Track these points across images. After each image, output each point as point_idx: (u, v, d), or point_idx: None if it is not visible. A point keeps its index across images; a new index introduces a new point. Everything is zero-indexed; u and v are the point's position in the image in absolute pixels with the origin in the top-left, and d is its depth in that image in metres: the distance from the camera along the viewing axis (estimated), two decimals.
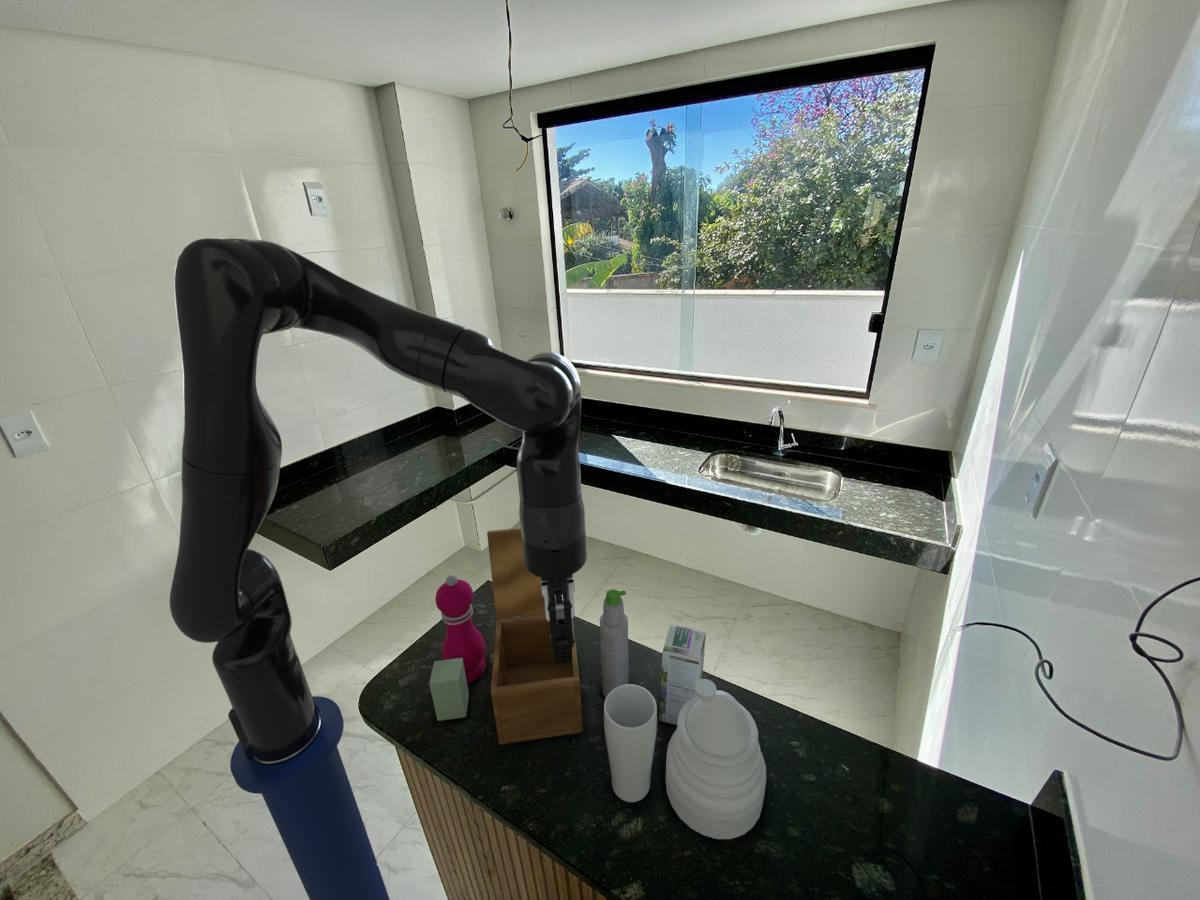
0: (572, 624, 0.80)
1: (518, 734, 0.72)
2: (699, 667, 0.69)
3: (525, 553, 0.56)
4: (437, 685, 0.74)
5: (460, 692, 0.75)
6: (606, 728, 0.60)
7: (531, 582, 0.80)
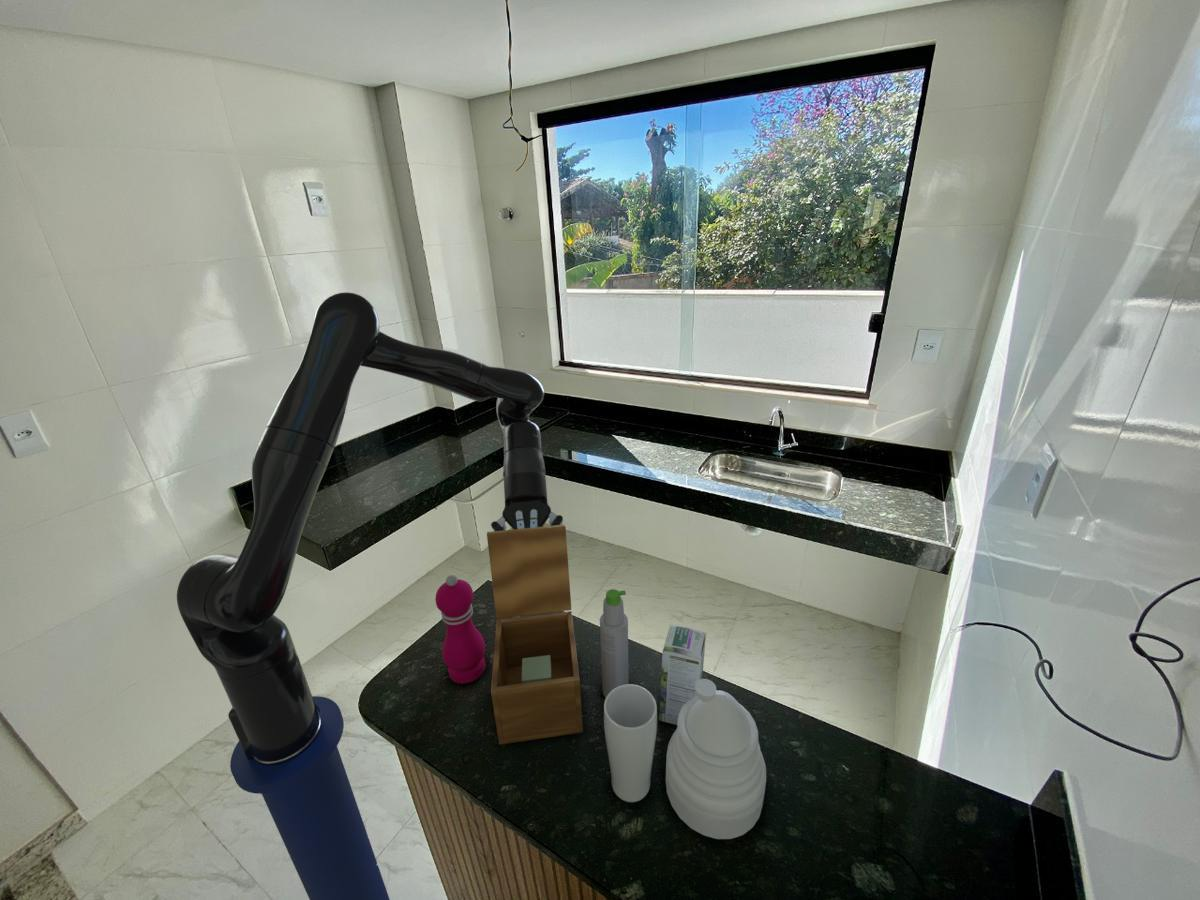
0: (572, 624, 0.80)
1: (518, 734, 0.72)
2: (699, 667, 0.69)
3: None
4: None
5: None
6: (606, 728, 0.60)
7: (531, 583, 0.80)
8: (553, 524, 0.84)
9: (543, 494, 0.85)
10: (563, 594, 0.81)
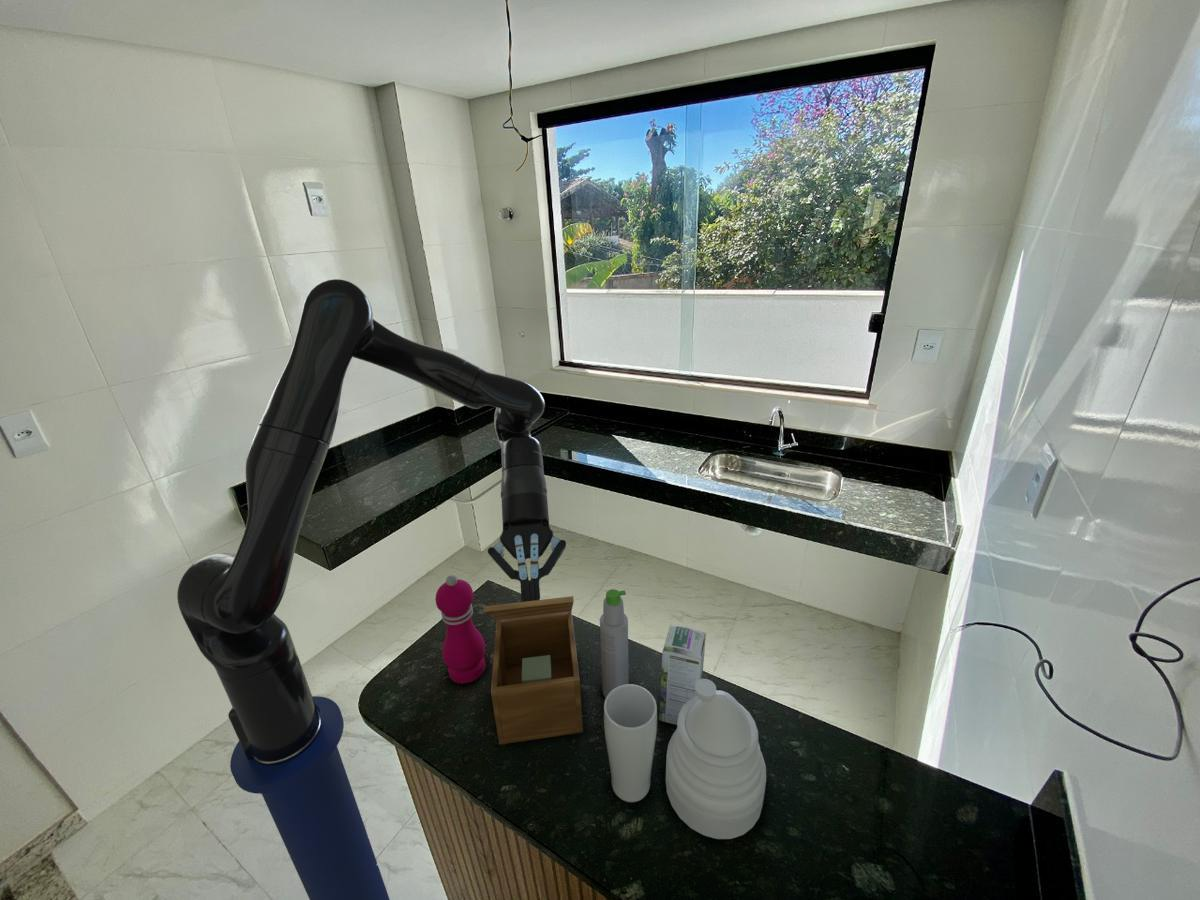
0: (572, 624, 0.80)
1: (518, 734, 0.72)
2: (699, 667, 0.69)
3: None
4: None
5: None
6: (606, 728, 0.60)
7: (532, 612, 0.76)
8: (555, 550, 0.77)
9: (544, 517, 0.78)
10: (564, 610, 0.80)
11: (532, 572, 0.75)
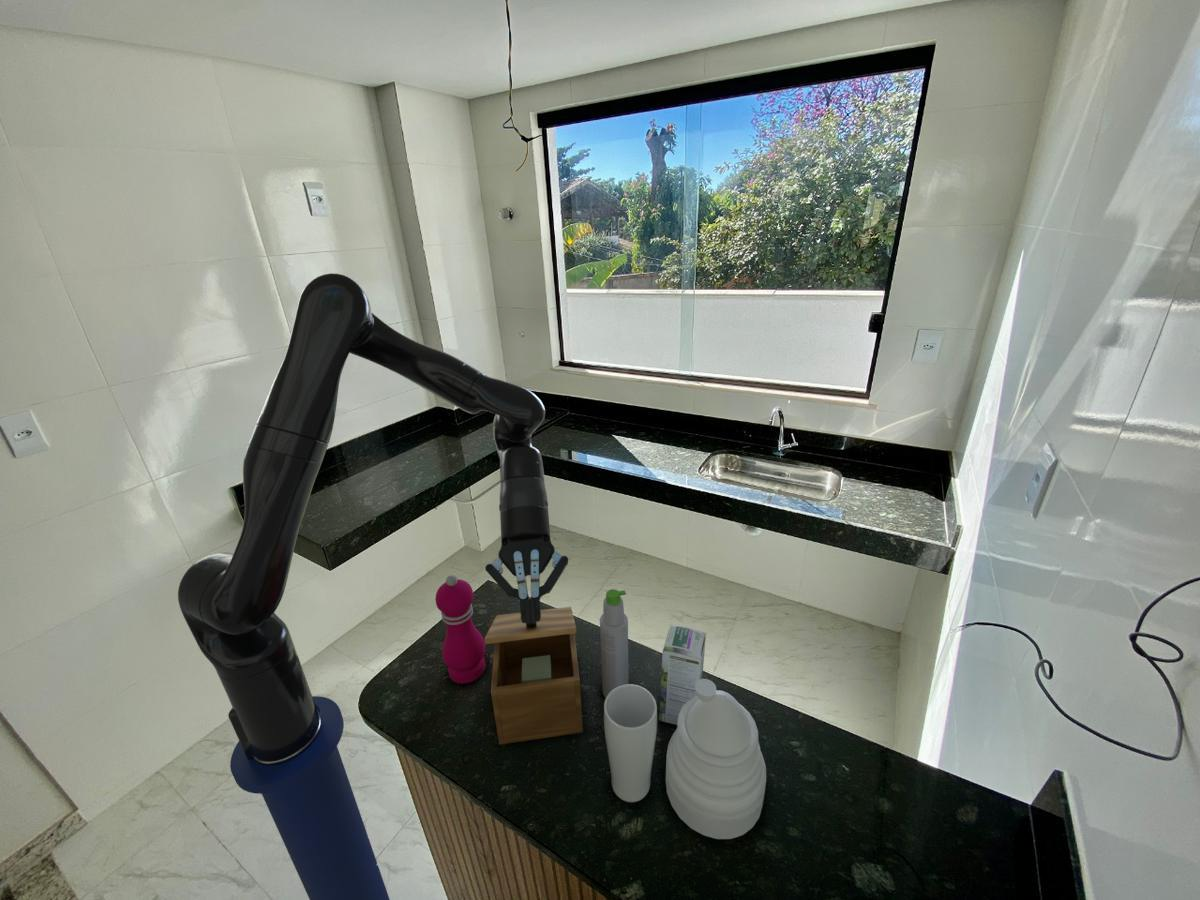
0: None
1: (518, 734, 0.72)
2: (699, 667, 0.69)
3: None
4: None
5: None
6: (606, 728, 0.60)
7: None
8: (557, 567, 0.72)
9: (545, 531, 0.74)
10: None
11: (532, 590, 0.71)
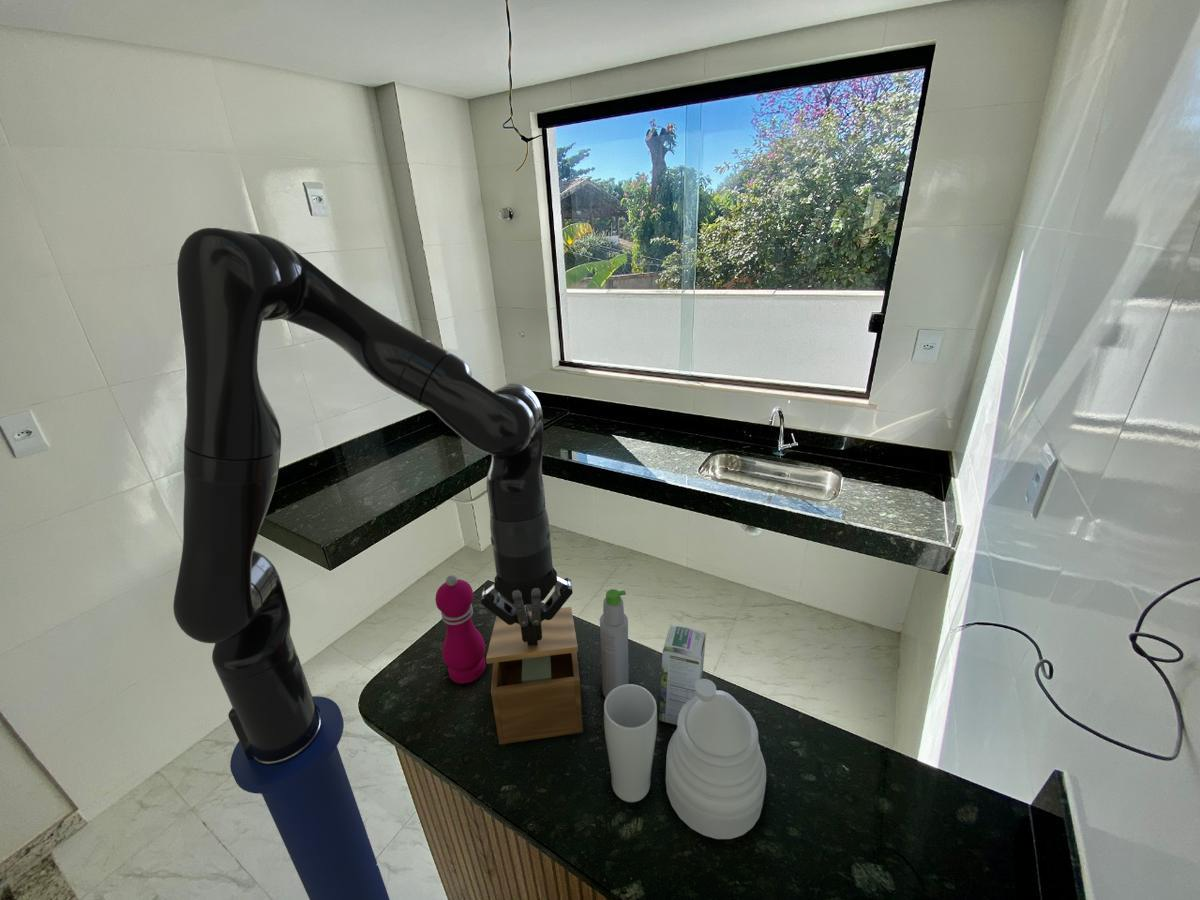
0: None
1: (518, 734, 0.72)
2: (699, 667, 0.69)
3: None
4: None
5: None
6: (606, 728, 0.60)
7: None
8: (560, 599, 0.66)
9: (548, 571, 0.63)
10: None
11: (534, 620, 0.67)
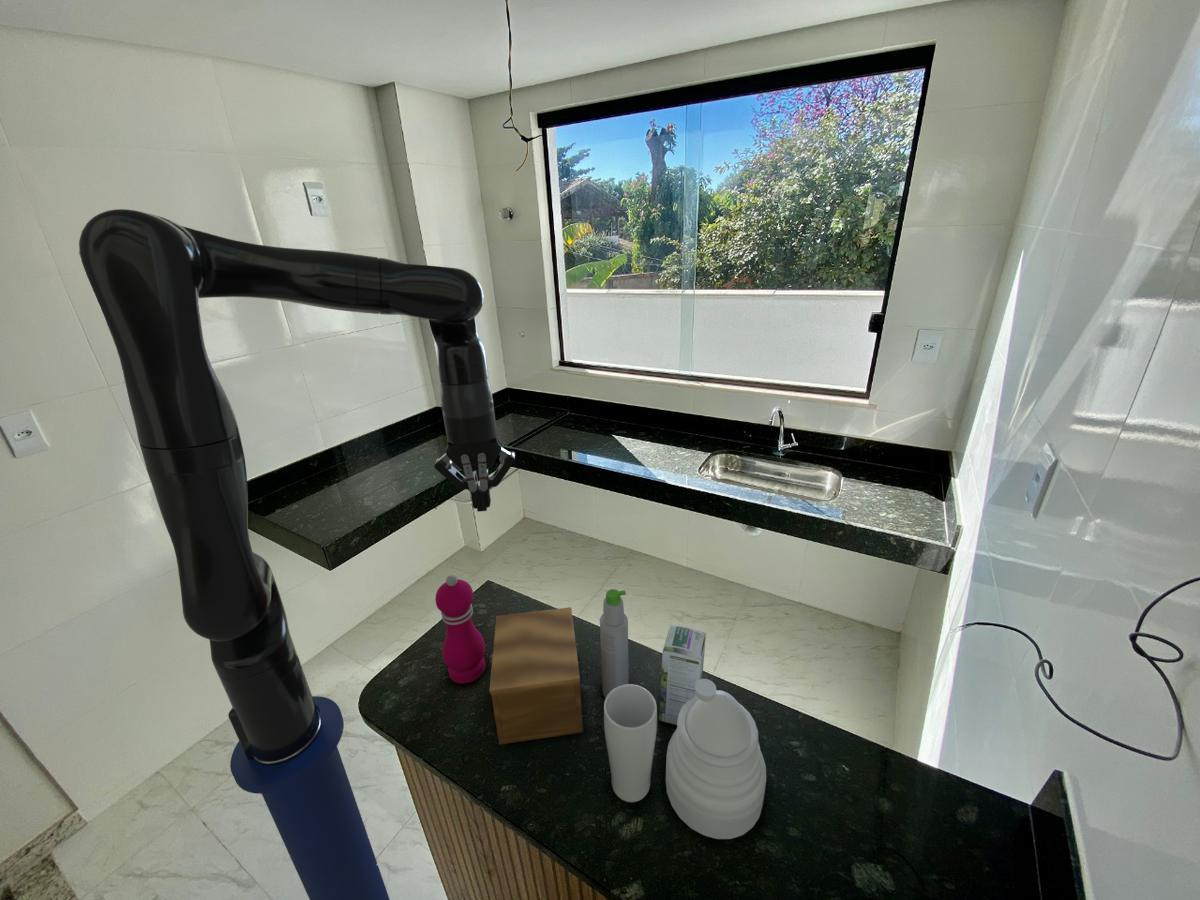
0: None
1: (518, 734, 0.72)
2: (699, 667, 0.69)
3: None
4: None
5: None
6: (606, 728, 0.60)
7: None
8: (504, 466, 0.76)
9: (491, 437, 0.73)
10: None
11: (481, 486, 0.77)
